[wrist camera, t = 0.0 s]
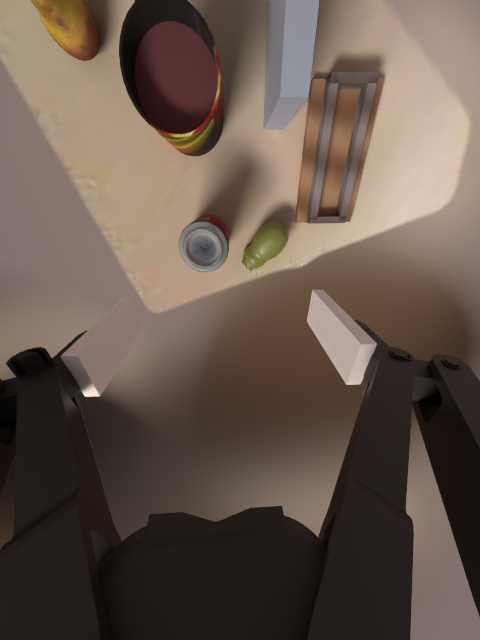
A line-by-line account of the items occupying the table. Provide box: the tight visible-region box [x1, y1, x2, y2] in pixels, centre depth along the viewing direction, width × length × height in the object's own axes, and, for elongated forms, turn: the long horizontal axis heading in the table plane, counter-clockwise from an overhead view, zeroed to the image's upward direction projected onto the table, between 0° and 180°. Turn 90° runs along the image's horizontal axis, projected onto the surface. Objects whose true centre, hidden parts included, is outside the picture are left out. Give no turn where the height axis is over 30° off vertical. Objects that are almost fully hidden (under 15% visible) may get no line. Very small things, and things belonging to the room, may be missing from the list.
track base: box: [295, 72, 384, 223], centre depth 33 cm, size 18×10×3 cm, turn 1°
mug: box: [119, 0, 224, 156], centre depth 24 cm, size 10×14×12 cm
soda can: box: [179, 215, 229, 272], centre depth 34 cm, size 7×7×12 cm
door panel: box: [263, 0, 319, 130], centre depth 23 cm, size 12×3×12 cm, turn 1°
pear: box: [242, 221, 288, 270], centre depth 38 cm, size 6×5×10 cm
